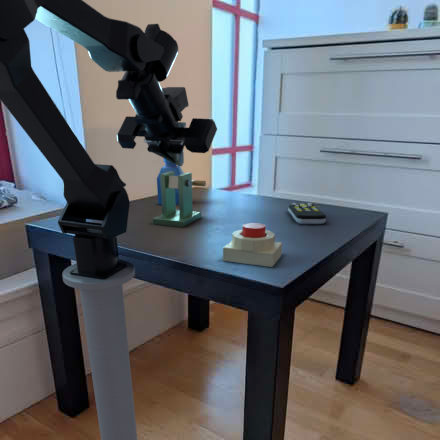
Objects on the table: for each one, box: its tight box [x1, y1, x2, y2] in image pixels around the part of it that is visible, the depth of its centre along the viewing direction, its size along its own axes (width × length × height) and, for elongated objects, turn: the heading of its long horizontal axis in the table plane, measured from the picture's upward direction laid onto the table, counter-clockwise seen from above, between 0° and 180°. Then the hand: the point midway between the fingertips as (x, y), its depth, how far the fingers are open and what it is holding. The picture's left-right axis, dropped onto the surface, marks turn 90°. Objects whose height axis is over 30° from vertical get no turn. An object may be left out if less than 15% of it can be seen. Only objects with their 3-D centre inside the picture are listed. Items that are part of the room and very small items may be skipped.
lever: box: [169, 176, 207, 189], centre depth 89 cm, size 10×6×2 cm, turn 159°
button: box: [241, 222, 267, 238], centre depth 65 cm, size 4×4×2 cm
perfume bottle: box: [156, 157, 184, 206], centre depth 104 cm, size 6×6×12 cm
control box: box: [222, 229, 283, 268], centre depth 66 cm, size 6×8×4 cm
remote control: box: [287, 202, 327, 225], centre depth 92 cm, size 6×13×2 cm, turn 1°
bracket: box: [152, 171, 202, 228], centre depth 87 cm, size 9×7×10 cm
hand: (181, 164), depth 84 cm, fingers closed
